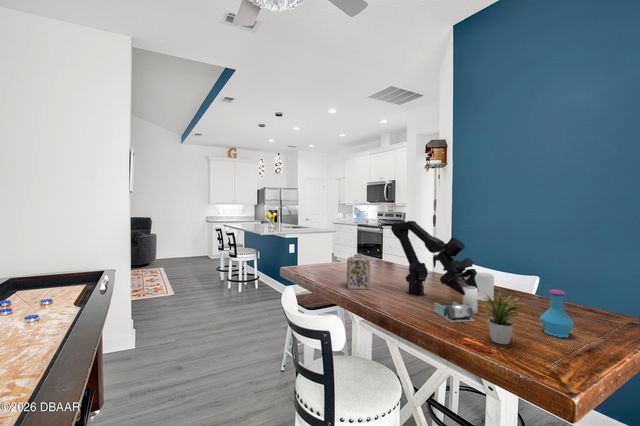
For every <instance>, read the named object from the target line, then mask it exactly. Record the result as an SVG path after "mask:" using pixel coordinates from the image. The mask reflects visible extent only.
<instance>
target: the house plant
mask: <svg viewBox="0 0 640 426" xmlns="http://www.w3.org/2000/svg"><path fill="white" fill-rule="evenodd" d="M489 296H490V295H489ZM489 296H488V295H487V297H488V298H489V299H488V298H487V297H486V298H487V300H488V301H485V302H486V303H487V304H488V305H489V306H488V305H484V304H483V305H481V307H482V308H484V309H485V310H486V309H487V311H486V312H485V317H488V316H489V317H490V316H492V317H490V318H488V320H487V322H488V327H489V335H490V340H491V341H492V342H494V343H496V344H499V345H509V344H510V343H511V341H510V340H511V337H512V332H513V328H514V322H515V318H516V317H520V318H523V315H525V313H523V312H521V313H520V312H518V311H514V310H522V309H523V310H524V309H525V310H529V308H527V307H524V305H522V304H521V302H518V303H517V302H516V301H517V300H519V299H520V297H517V298H514V299H512V300H511V301H509V300H510V298H511V297H512V296H513V293H511V294H510V295H509V296H508V297H507V298H506V299H504V301H503V297H502V293H501V290H498V294H497V298H495V297H493V298H494V301H495V302H494V301H493V300H492V299H491V298H490V297H489ZM483 299H485V298H483ZM515 302H516V303H515ZM519 305H520V306H521V307H519ZM512 311H513V312H512ZM510 320H512V321H513V322H512V321H510Z"/></svg>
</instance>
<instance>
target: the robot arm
mask: <svg viewBox="0 0 640 426" xmlns="http://www.w3.org/2000/svg"><path fill="white" fill-rule="evenodd" d="M390 230H391V232H392V234H393V236H394V237H396V239H398V240H399V242H400V245H401V248H402V250H403V251H404V254H405V258H406V259H407V262H408V263H409V264H408V265H409V266H408V272H409V273H408V274H407V275H406V276H405V280H406V281H405V282H407V283H408V291H407V292H406V294H409V295H413V296H416V297H418V296H422V295H424V294H425V292H424V291H425V290H424V288H425V287H424V284H423V283H424V282H426V280H427V277H428V275H429V272H428V268H427V265H426V263H425V262H420V260H419V258H418V256H417V254H416V252H415V249H414V247H413V244H412V242H411V240H410V237H409V233H410V232H411V233H413V234H414V235H415V236H416V237H417V238H419V240H420V241H422V242H423V244H424V247H425V248H426V249H427V250H428V252H429V253H433V254H434V253H435V254H434V255H433V256H434V257H433V261H434V262H437V261H439V263H441V265H442V267H443V269H442V270H443V271H444V272H445V271H446V272H445V273H443V275H442V276H440V278H439V281H440V283H441V285H445V286H446V287H448V288H451V289H452V290H454V291H455V292H458V293H459V294H460V295H462V296H463V295H465V292H464V290H463V287H462V286H461V284H460V282H459V279H461V280H462V281H463V282H464V283H465V284H466V286H474V287H476V288H478V287H477V284H476V281H475V276H476V274H477V273H478V271H477V270H476V269H475V268H473V264H474V261H473V260H472V259H471V258H470V257H467V258H464V259H463V260H460V261H459V260H455V258H454V257H457V256H459V255H460V254H461V253H462V251H463V250H464V249H465V248H466V245H465V244H464V243H463V242H462V241H461V240H459V239H457V238H456V237H451V238H450V239H449V241H447V243H445V242H444V241H443V240H442V239H440V238H438V237H435V236H432V235H431V234H430V233H429V232H427V231H426V230H425V229H424V228H423V227H421V226H420V225H419V224H418V223H417V222H416V221H414V220H407V221H404V222H393V223H392V225H391V227H390ZM436 253H438V254H436ZM478 292H479V290H478Z"/></svg>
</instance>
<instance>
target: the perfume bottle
mask: <svg viewBox="0 0 640 426" xmlns="http://www.w3.org/2000/svg"><path fill="white" fill-rule="evenodd" d="M548 293H549V295H550V301H549V303H550V305H549V306H550V307H549V308H548V309H546V311H545V312H543V313H542V314H541V315H540V318H539V320H540V323H541V324H542V328H544V329H543V330H544V331H543V332H544V333H545V334H547V335H549V336H552V335H553V336H552V337H556V336H557V337H556V338H562V337H566V338H569V334H570V333H571V332H572V330H573V328H574V321H573V320H572V319H571V318H570V316H569V315H568V314H567V313H566V311H565V310H564V297H565V295H566V292H565V291H563V290H560V289H550V290H548Z"/></svg>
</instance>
